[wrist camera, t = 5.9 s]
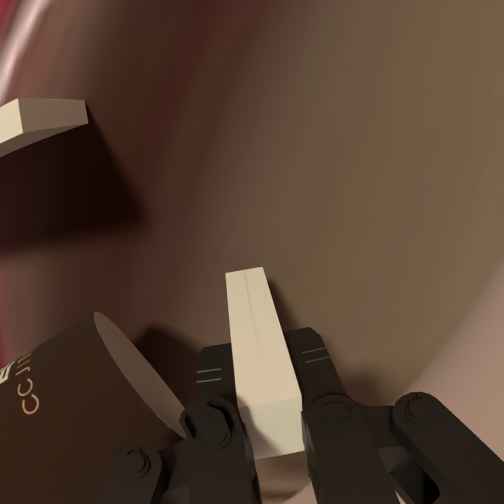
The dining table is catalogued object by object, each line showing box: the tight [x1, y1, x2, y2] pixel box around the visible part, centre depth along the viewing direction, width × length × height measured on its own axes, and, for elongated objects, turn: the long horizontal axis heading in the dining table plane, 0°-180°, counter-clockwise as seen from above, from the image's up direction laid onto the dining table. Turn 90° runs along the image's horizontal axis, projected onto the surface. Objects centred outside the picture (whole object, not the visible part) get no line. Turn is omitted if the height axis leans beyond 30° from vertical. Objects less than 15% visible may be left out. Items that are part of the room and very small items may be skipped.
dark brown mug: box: [0, 311, 187, 504], centre depth 10 cm, size 12×9×10 cm
